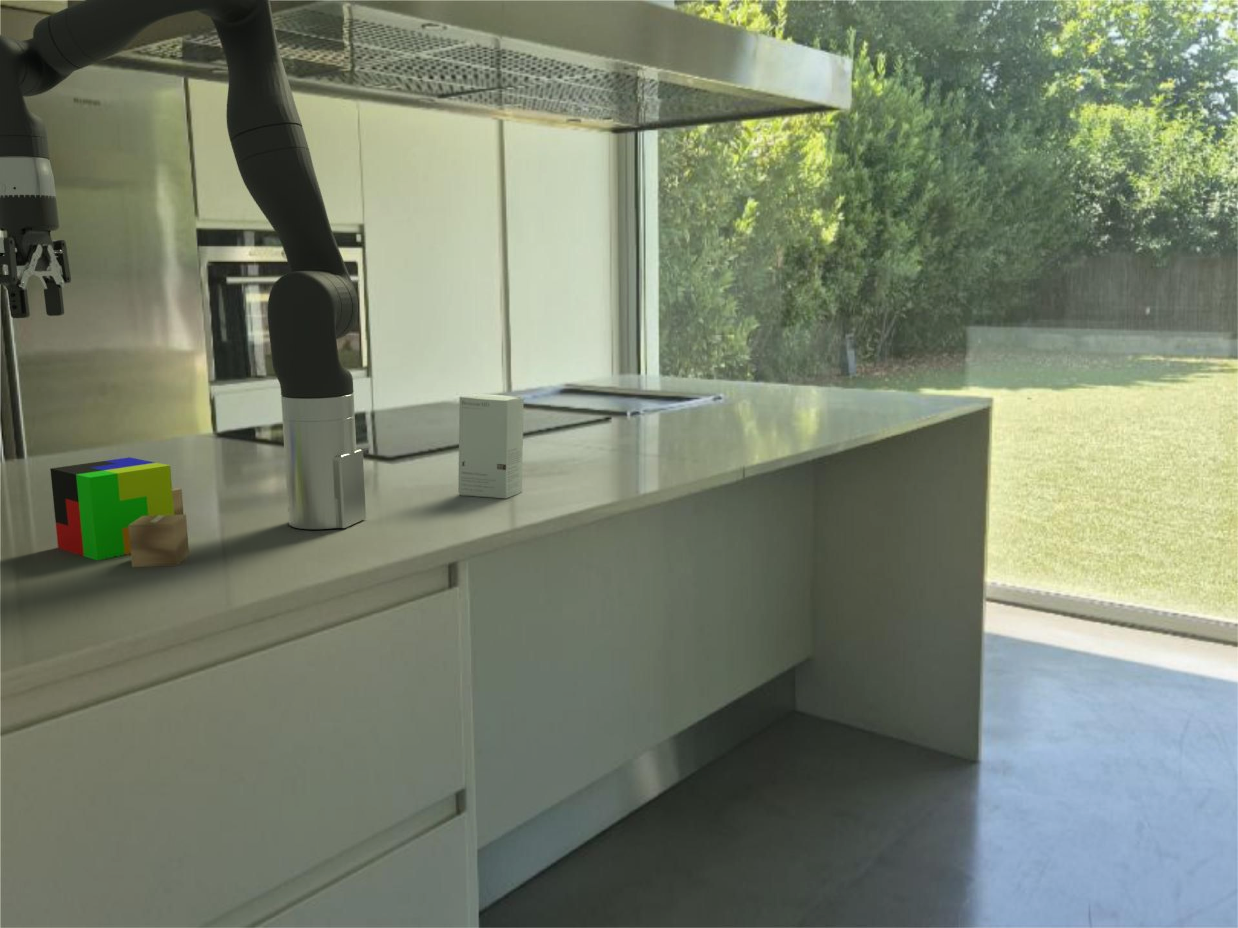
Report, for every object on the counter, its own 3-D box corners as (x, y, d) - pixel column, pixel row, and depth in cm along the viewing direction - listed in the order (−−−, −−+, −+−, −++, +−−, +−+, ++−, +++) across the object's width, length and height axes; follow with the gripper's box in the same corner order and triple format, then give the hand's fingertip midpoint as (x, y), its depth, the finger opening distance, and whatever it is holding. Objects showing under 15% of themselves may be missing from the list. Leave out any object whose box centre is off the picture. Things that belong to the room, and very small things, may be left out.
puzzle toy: (136, 533, 146) (129, 457, 145) (176, 544, 140) (170, 465, 138) (58, 548, 139) (50, 468, 137) (97, 561, 132) (89, 477, 131)
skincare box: (458, 496, 167) (454, 396, 165) (477, 488, 173) (474, 392, 170) (508, 499, 165) (506, 398, 162) (526, 491, 170) (524, 394, 167)
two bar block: (184, 525, 150) (181, 487, 149) (152, 533, 146) (149, 494, 145) (159, 521, 153) (156, 484, 152) (127, 529, 149) (124, 491, 148)
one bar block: (189, 555, 135) (185, 513, 134) (176, 566, 130) (173, 522, 129) (146, 556, 134) (142, 514, 133) (132, 567, 129) (128, 524, 129)
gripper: (21, 189, 143) (36, 318, 146) (79, 196, 157) (92, 314, 160) (-36, 191, 143) (-20, 320, 146) (27, 198, 157) (41, 315, 160)
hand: (38, 316), depth 153 cm, fingers open, 8 cm apart
